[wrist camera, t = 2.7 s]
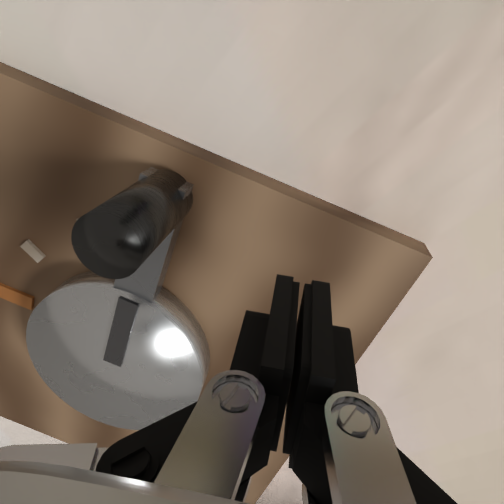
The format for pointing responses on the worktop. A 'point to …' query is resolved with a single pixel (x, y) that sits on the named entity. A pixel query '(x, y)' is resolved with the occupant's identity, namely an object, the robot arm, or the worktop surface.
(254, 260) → the board
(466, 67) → the worktop surface
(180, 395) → the dial
